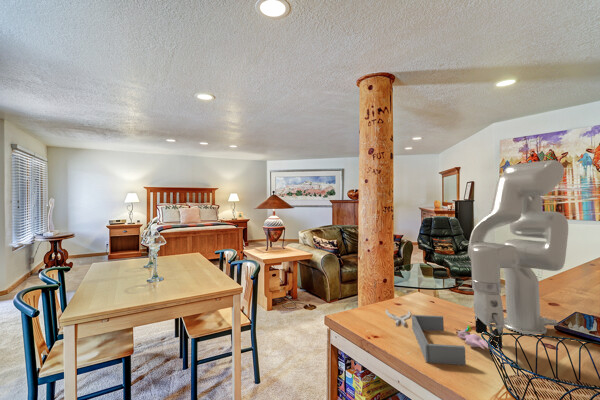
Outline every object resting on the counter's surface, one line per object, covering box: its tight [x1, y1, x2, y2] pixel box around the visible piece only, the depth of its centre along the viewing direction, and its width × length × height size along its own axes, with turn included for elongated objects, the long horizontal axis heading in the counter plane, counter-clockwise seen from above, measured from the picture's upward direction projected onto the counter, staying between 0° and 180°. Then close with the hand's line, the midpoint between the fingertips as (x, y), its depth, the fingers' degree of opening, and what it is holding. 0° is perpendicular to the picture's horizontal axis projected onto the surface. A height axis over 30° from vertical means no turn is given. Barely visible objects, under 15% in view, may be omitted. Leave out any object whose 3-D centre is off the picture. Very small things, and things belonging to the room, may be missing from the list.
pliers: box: [385, 308, 412, 327], centre depth 113 cm, size 10×2×15 cm
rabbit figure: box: [455, 324, 488, 350], centre depth 90 cm, size 6×6×15 cm
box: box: [411, 314, 467, 366], centre depth 91 cm, size 10×22×5 cm, turn 168°
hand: (488, 340), depth 88 cm, fingers open, 9 cm apart
